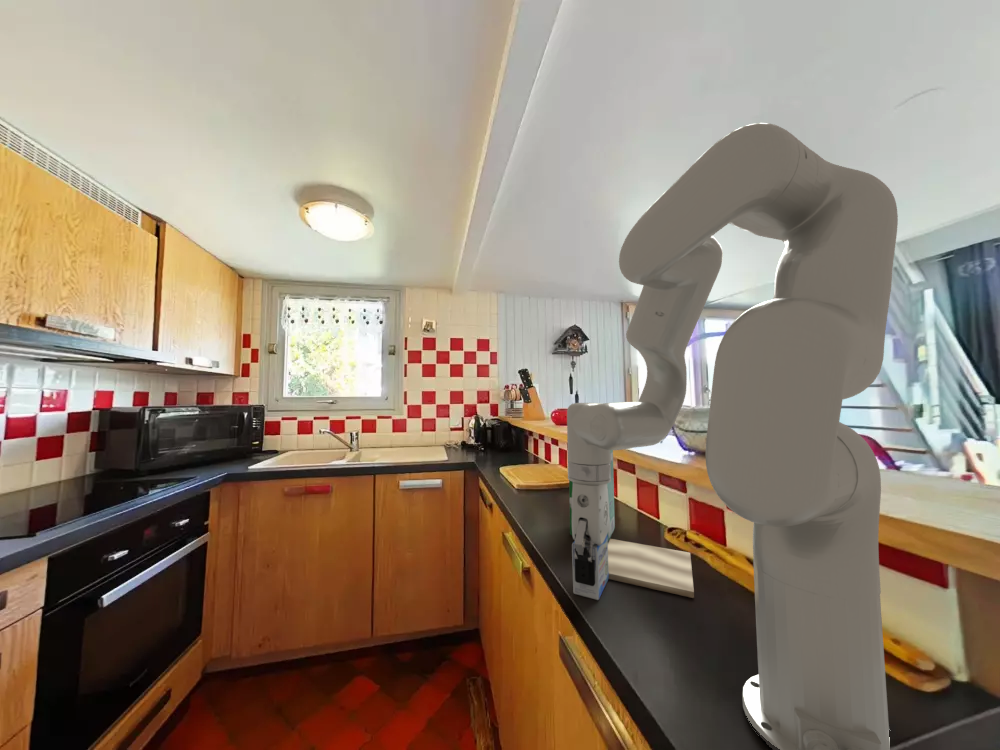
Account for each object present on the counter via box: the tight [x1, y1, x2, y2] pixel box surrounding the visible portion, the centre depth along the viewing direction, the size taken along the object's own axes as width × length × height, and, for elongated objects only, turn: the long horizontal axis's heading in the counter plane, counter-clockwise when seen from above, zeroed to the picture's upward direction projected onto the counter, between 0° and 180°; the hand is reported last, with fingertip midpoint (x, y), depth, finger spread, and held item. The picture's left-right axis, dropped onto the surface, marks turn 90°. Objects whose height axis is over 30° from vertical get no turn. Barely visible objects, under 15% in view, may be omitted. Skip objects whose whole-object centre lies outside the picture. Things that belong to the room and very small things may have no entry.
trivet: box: [608, 538, 695, 599], centre depth 68 cm, size 16×16×1 cm
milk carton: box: [568, 450, 616, 542], centre depth 86 cm, size 9×9×25 cm
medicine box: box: [571, 536, 610, 601], centre depth 61 cm, size 8×4×9 cm, turn 151°
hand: (590, 570), depth 61 cm, fingers closed on medicine box, 8 cm apart
